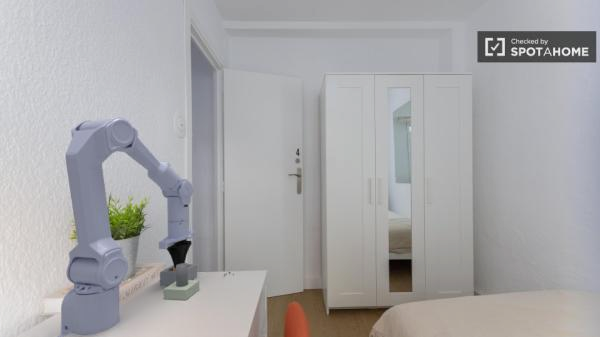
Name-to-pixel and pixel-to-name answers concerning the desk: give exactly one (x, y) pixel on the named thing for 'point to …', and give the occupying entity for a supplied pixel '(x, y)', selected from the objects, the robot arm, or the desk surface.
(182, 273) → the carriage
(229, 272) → the game controller
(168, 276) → the grey square socket block
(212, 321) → the desk surface
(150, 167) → the robot arm
